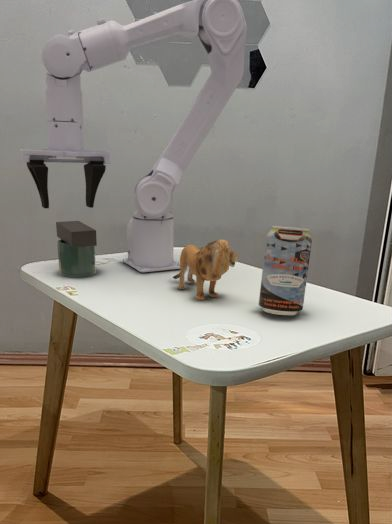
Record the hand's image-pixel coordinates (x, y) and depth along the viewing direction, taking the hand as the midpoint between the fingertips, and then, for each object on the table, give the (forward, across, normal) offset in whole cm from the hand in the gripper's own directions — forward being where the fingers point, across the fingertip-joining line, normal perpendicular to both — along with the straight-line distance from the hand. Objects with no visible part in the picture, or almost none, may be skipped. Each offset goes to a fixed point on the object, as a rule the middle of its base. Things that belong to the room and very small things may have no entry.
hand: (68, 207), depth 97 cm
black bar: (+5, 0, -5) cm, 7 cm away
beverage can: (+10, +20, -37) cm, 43 cm away
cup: (+10, 0, -5) cm, 11 cm away
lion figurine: (+10, +14, -24) cm, 29 cm away
